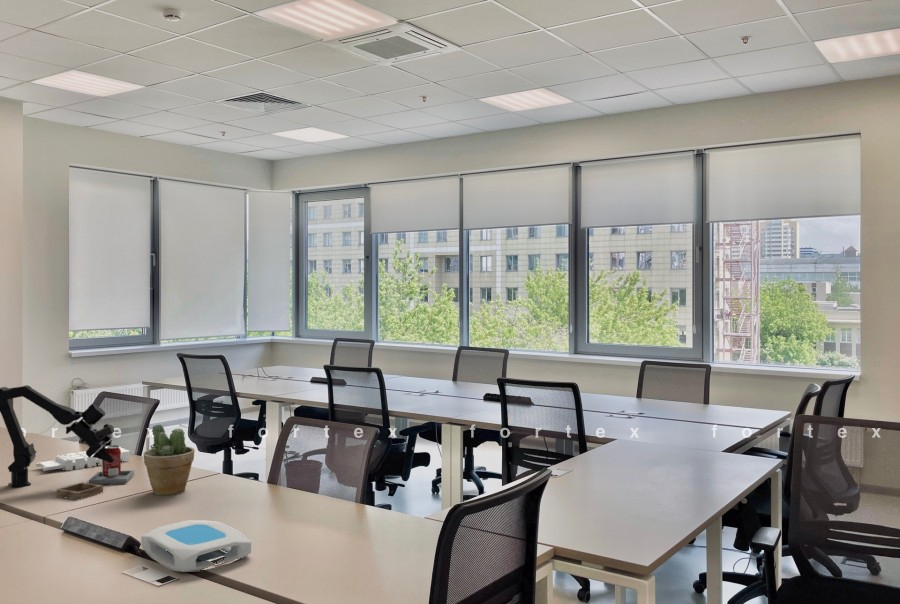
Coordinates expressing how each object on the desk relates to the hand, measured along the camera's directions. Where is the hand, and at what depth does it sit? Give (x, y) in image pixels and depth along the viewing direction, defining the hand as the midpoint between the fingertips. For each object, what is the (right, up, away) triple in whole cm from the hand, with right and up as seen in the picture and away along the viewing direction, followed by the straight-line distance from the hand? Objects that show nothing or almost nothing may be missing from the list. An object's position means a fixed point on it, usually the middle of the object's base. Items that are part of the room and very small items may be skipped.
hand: (115, 459), depth 296 cm
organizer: (-25, -8, +25) cm, 37 cm away
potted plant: (+28, -9, -16) cm, 34 cm away
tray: (-1, -8, 0) cm, 8 cm away
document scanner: (+61, -10, -82) cm, 103 cm away
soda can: (-1, -7, 0) cm, 7 cm away
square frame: (-4, -9, -21) cm, 23 cm away
